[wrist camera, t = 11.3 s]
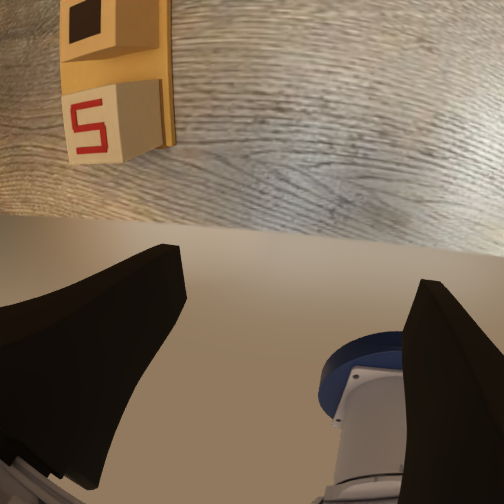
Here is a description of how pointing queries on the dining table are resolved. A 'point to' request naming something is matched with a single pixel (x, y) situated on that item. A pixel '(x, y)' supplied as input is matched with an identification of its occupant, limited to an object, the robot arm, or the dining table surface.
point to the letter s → (112, 122)
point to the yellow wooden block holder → (118, 48)
